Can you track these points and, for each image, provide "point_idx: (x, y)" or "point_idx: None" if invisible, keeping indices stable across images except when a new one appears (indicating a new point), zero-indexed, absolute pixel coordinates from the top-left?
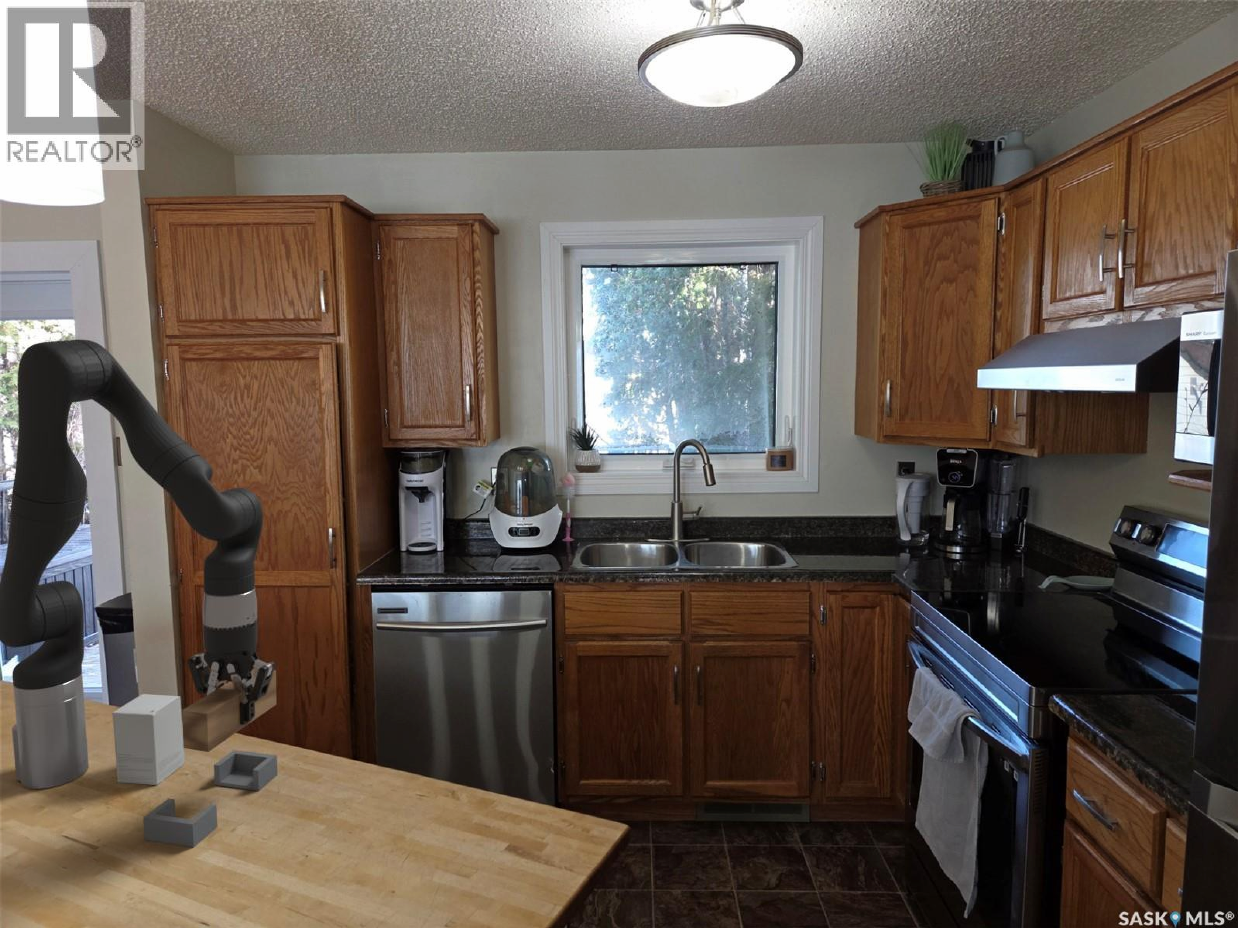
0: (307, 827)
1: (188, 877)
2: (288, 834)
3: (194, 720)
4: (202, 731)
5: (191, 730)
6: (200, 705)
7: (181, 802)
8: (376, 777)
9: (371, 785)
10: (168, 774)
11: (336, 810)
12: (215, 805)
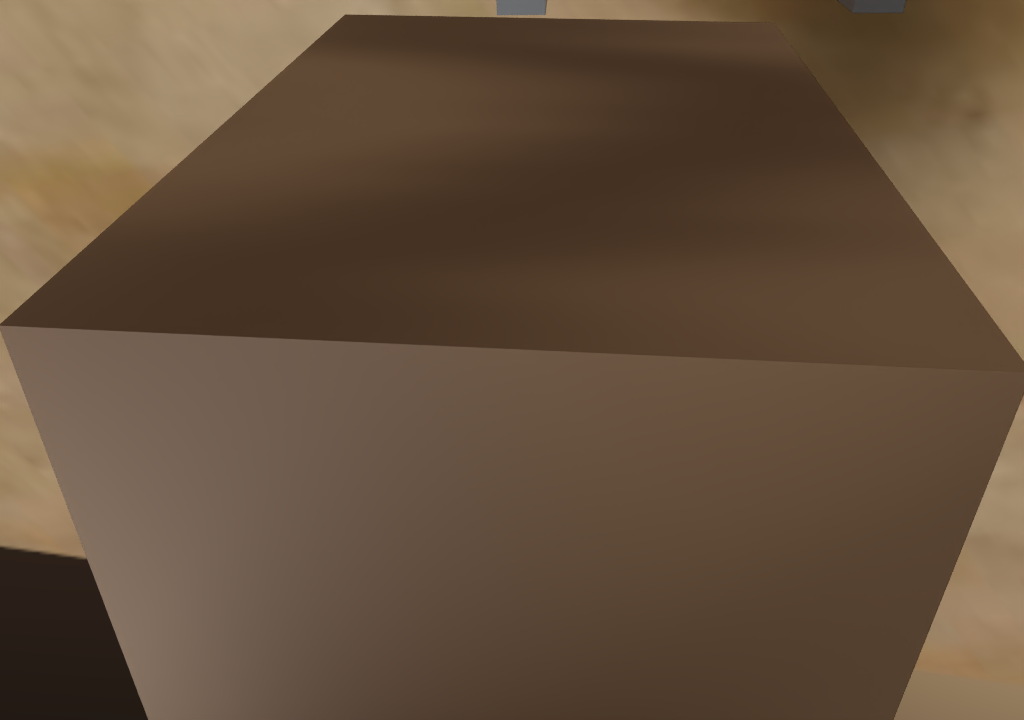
0: (12, 95)
1: None
2: (51, 10)
3: (531, 211)
4: (359, 114)
5: (633, 121)
6: (630, 670)
7: (885, 159)
8: (59, 509)
9: (27, 458)
10: None
11: (5, 260)
12: (498, 7)
